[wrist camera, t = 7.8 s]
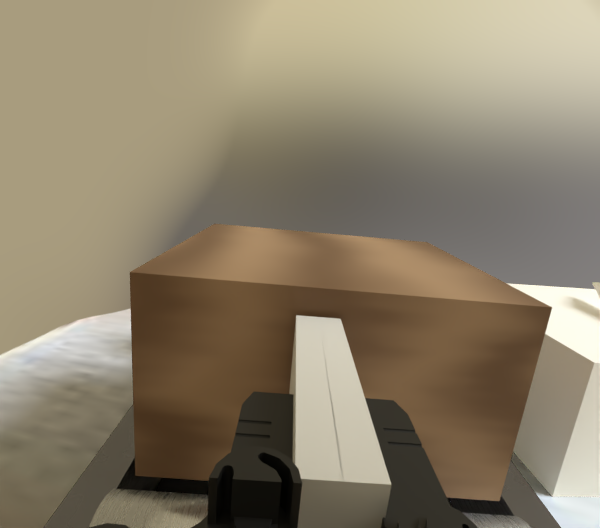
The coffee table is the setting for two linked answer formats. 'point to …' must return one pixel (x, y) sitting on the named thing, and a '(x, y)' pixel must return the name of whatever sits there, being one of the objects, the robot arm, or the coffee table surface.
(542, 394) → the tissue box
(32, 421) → the coffee table surface
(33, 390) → the coffee table surface
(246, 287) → the brown wooden block
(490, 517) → the roller track
